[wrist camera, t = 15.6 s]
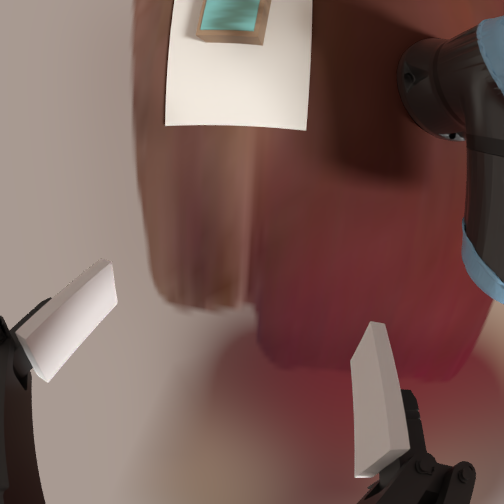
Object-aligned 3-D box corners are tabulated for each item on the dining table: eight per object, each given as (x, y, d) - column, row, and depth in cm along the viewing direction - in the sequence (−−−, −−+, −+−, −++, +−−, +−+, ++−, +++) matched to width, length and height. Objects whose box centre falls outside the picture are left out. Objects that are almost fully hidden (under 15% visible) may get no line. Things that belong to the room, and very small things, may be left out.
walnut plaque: (262, 45, 30) (275, -21, 24) (257, 36, 26) (271, -35, 21) (206, 42, 31) (220, -22, 25) (194, 34, 27) (211, -35, 21)
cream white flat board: (181, -29, 25) (179, -31, 25) (312, -37, 22) (312, -39, 22) (167, 125, 38) (165, 125, 37) (306, 130, 35) (306, 130, 34)
